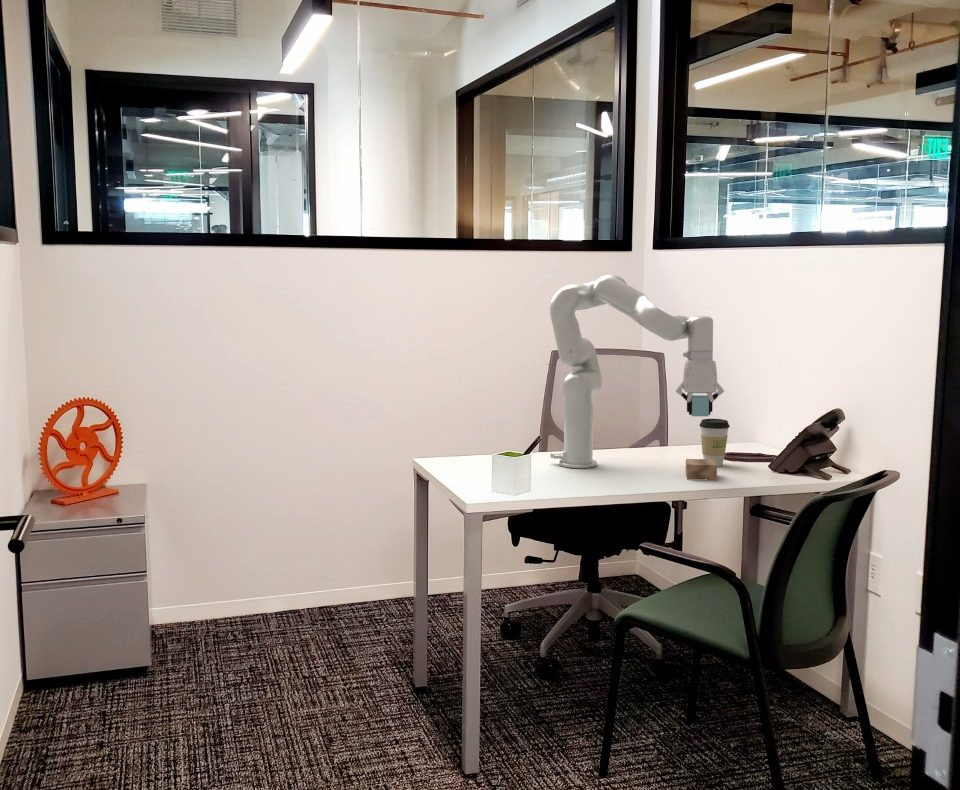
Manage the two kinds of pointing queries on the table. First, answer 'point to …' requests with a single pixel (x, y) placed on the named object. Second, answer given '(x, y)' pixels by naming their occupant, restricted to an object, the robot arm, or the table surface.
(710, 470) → the walnut box
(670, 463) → the table surface
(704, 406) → the teal block
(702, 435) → the coffee cup
